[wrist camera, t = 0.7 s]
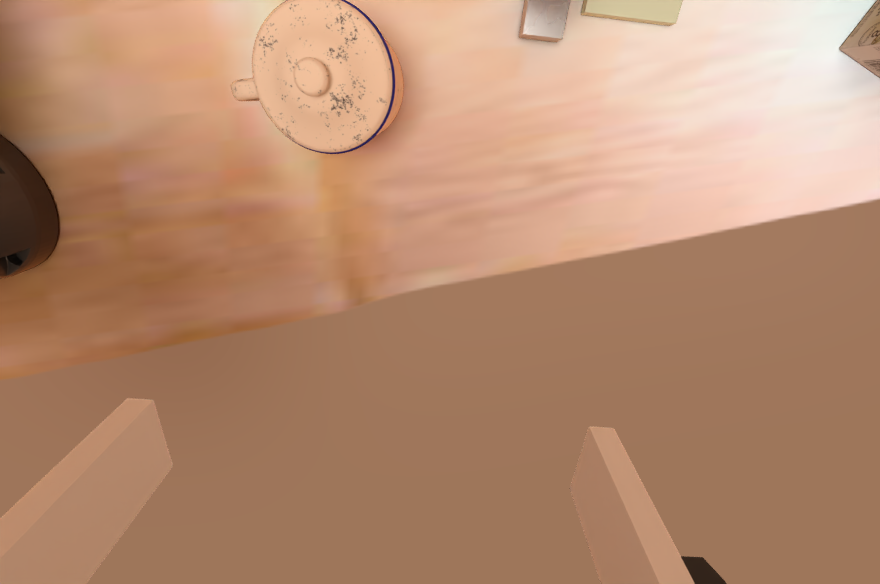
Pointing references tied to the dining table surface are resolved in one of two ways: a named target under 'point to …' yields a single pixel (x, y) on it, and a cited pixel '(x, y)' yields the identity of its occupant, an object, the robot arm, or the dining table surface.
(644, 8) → the hole board
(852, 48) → the coffee box
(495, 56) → the dining table surface
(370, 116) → the teacup with lid
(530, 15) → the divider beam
